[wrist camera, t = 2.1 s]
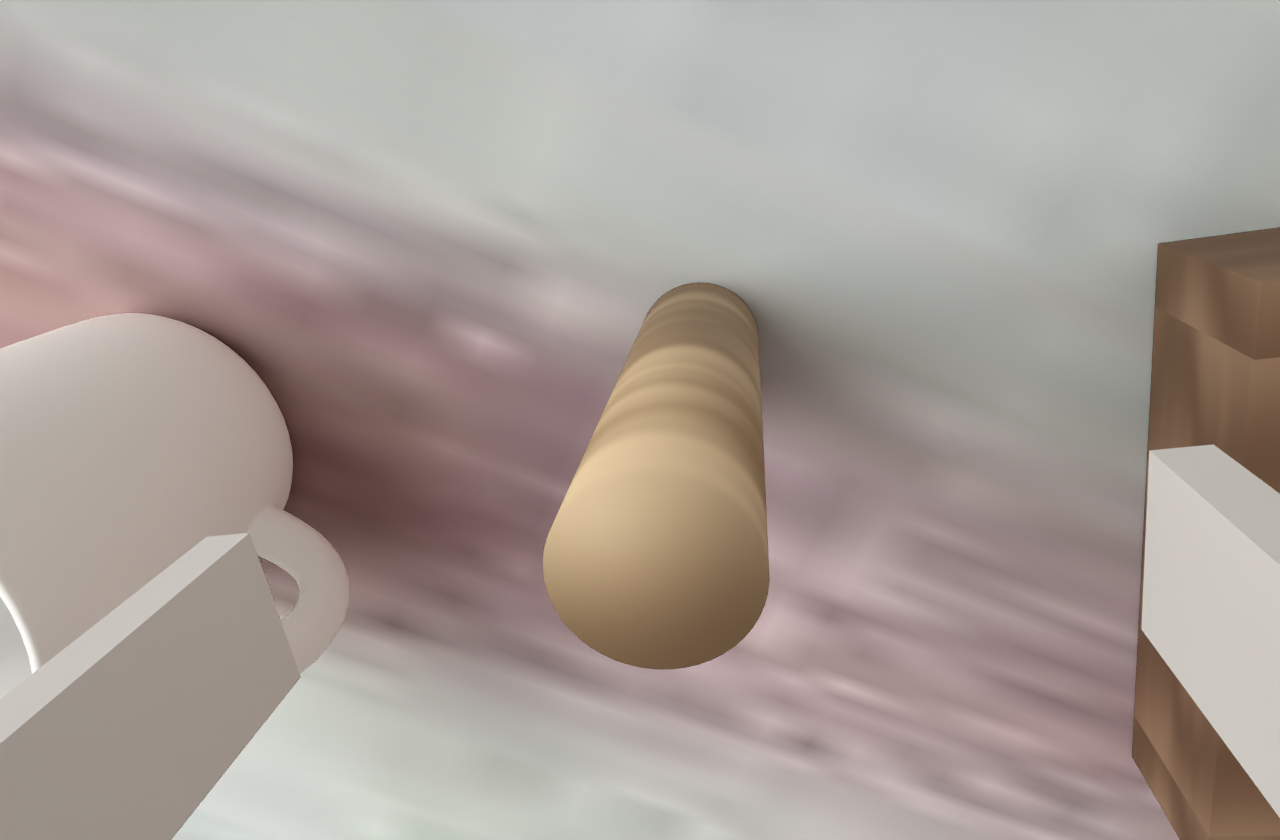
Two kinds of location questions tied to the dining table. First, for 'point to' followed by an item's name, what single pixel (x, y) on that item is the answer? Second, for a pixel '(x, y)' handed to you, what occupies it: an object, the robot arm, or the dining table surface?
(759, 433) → the oak peg
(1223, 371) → the hole block
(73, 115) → the dining table surface
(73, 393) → the mug
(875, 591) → the dining table surface
